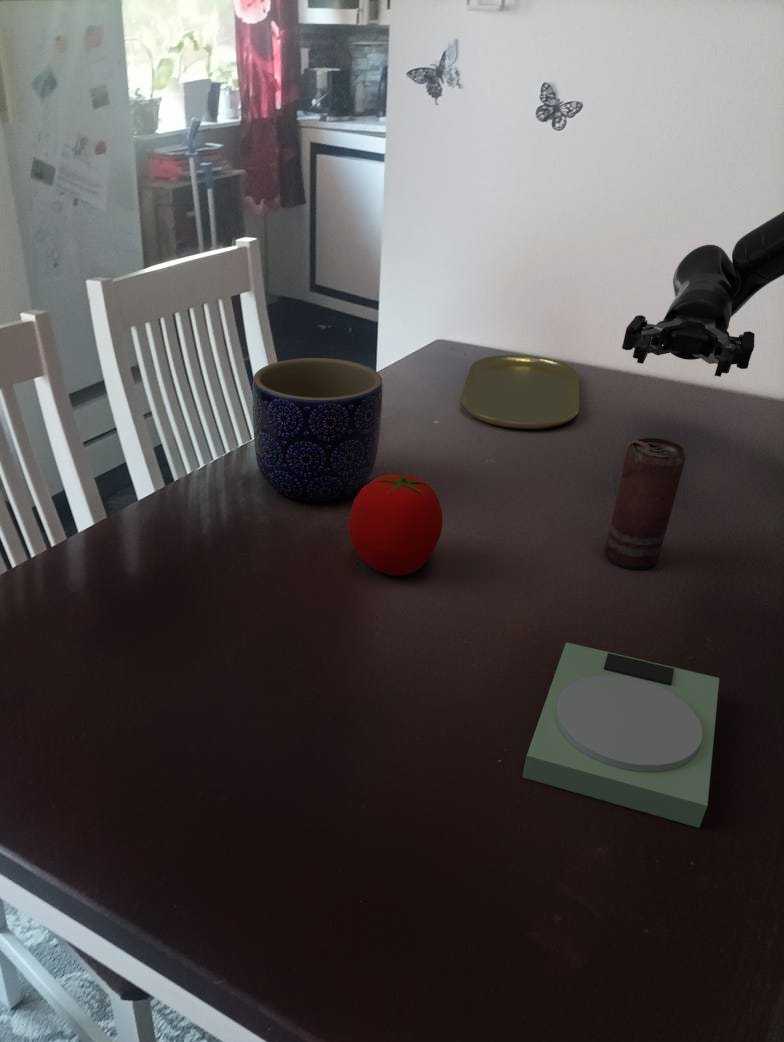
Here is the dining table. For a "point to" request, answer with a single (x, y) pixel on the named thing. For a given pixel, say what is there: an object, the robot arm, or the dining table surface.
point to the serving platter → (521, 392)
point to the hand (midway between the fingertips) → (680, 361)
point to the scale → (627, 734)
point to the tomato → (395, 523)
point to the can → (644, 502)
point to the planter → (316, 426)
